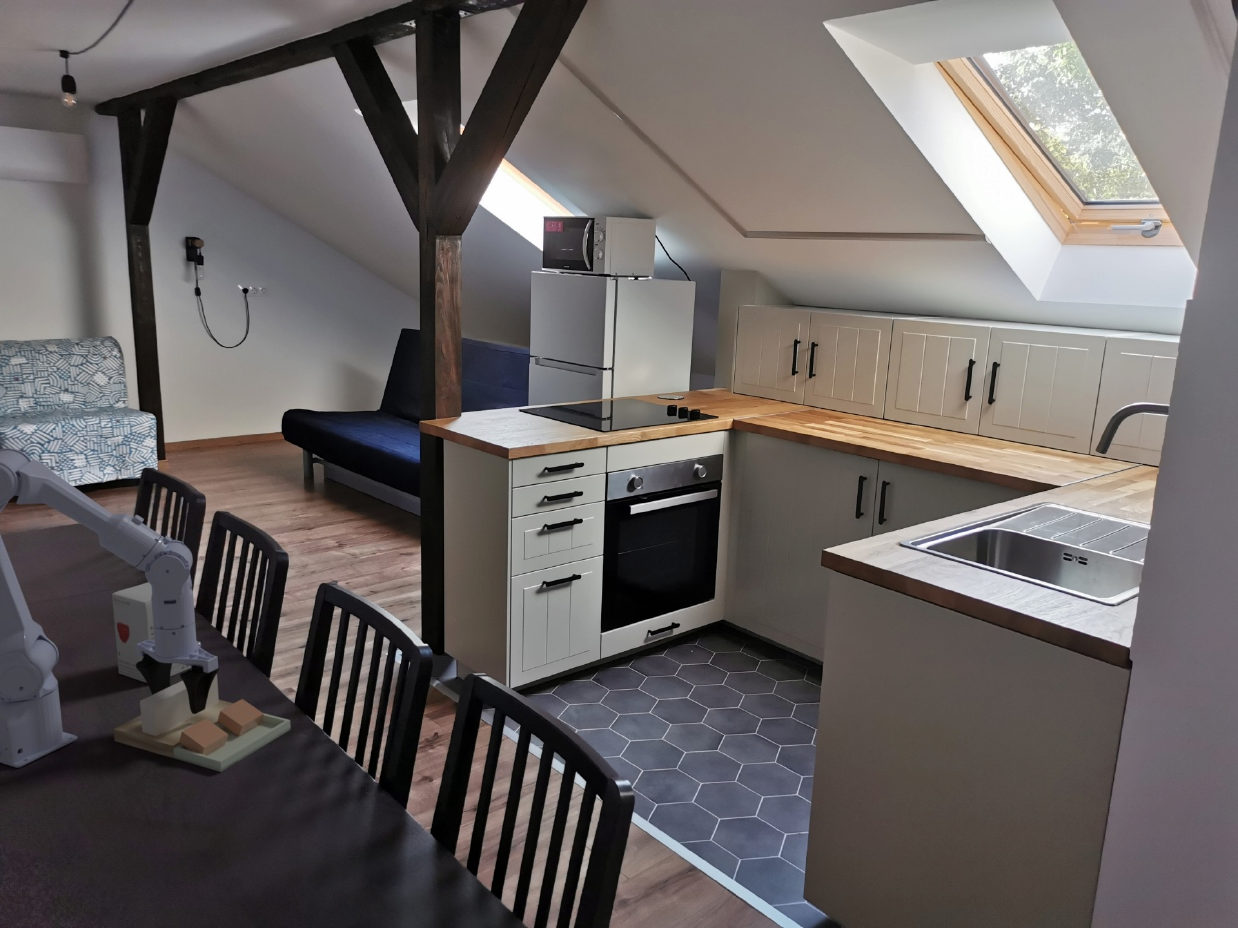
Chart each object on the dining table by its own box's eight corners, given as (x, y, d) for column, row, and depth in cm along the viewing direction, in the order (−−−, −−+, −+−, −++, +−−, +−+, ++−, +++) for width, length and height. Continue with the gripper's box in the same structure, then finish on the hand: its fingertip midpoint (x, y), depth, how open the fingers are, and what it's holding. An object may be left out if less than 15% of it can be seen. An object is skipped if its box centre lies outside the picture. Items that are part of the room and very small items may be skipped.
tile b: (239, 736, 143) (242, 726, 142) (217, 720, 144) (220, 710, 144) (260, 723, 147) (263, 713, 146) (239, 708, 148) (242, 698, 148)
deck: (174, 758, 137) (173, 745, 137) (114, 740, 141) (113, 728, 141) (245, 717, 150) (245, 706, 149) (189, 703, 154) (188, 691, 154)
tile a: (201, 758, 136) (204, 747, 136) (178, 741, 138) (181, 731, 137) (225, 744, 140) (228, 734, 140) (203, 728, 142) (206, 718, 141)
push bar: (156, 735, 139) (153, 704, 138) (142, 731, 140) (139, 700, 139) (218, 702, 150) (216, 673, 149) (205, 699, 151) (203, 670, 150)
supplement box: (116, 674, 164) (109, 592, 161) (162, 656, 172) (156, 578, 169) (150, 685, 160) (144, 602, 157) (196, 667, 168) (190, 587, 165)
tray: (221, 771, 134) (220, 761, 133) (174, 758, 137) (173, 748, 137) (290, 729, 146) (290, 719, 146) (245, 717, 150) (245, 708, 149)
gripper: (231, 621, 143) (236, 704, 146) (160, 606, 148) (166, 687, 151) (194, 637, 137) (200, 724, 139) (121, 621, 142) (129, 704, 145)
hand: (180, 706), depth 145 cm, fingers open, 7 cm apart
